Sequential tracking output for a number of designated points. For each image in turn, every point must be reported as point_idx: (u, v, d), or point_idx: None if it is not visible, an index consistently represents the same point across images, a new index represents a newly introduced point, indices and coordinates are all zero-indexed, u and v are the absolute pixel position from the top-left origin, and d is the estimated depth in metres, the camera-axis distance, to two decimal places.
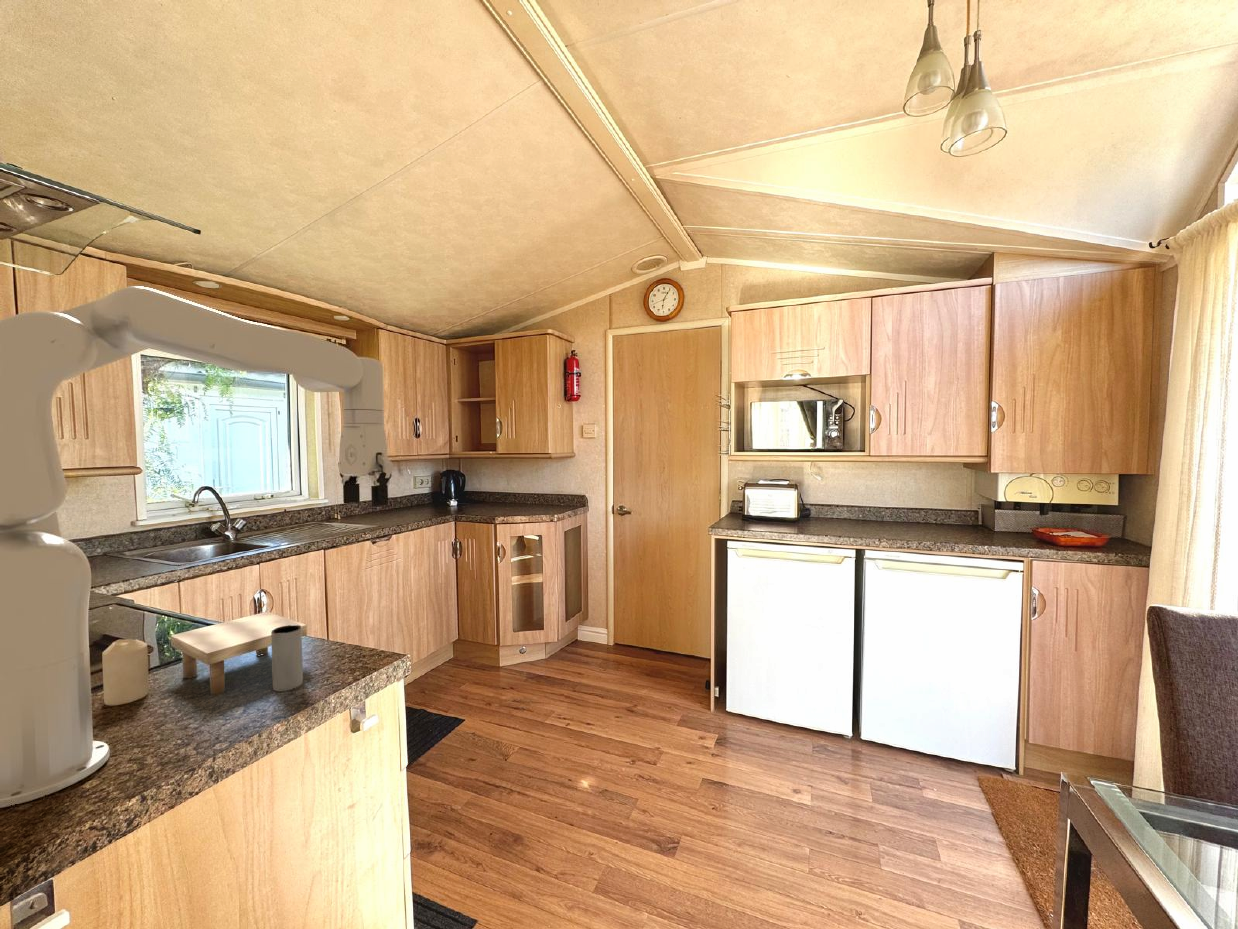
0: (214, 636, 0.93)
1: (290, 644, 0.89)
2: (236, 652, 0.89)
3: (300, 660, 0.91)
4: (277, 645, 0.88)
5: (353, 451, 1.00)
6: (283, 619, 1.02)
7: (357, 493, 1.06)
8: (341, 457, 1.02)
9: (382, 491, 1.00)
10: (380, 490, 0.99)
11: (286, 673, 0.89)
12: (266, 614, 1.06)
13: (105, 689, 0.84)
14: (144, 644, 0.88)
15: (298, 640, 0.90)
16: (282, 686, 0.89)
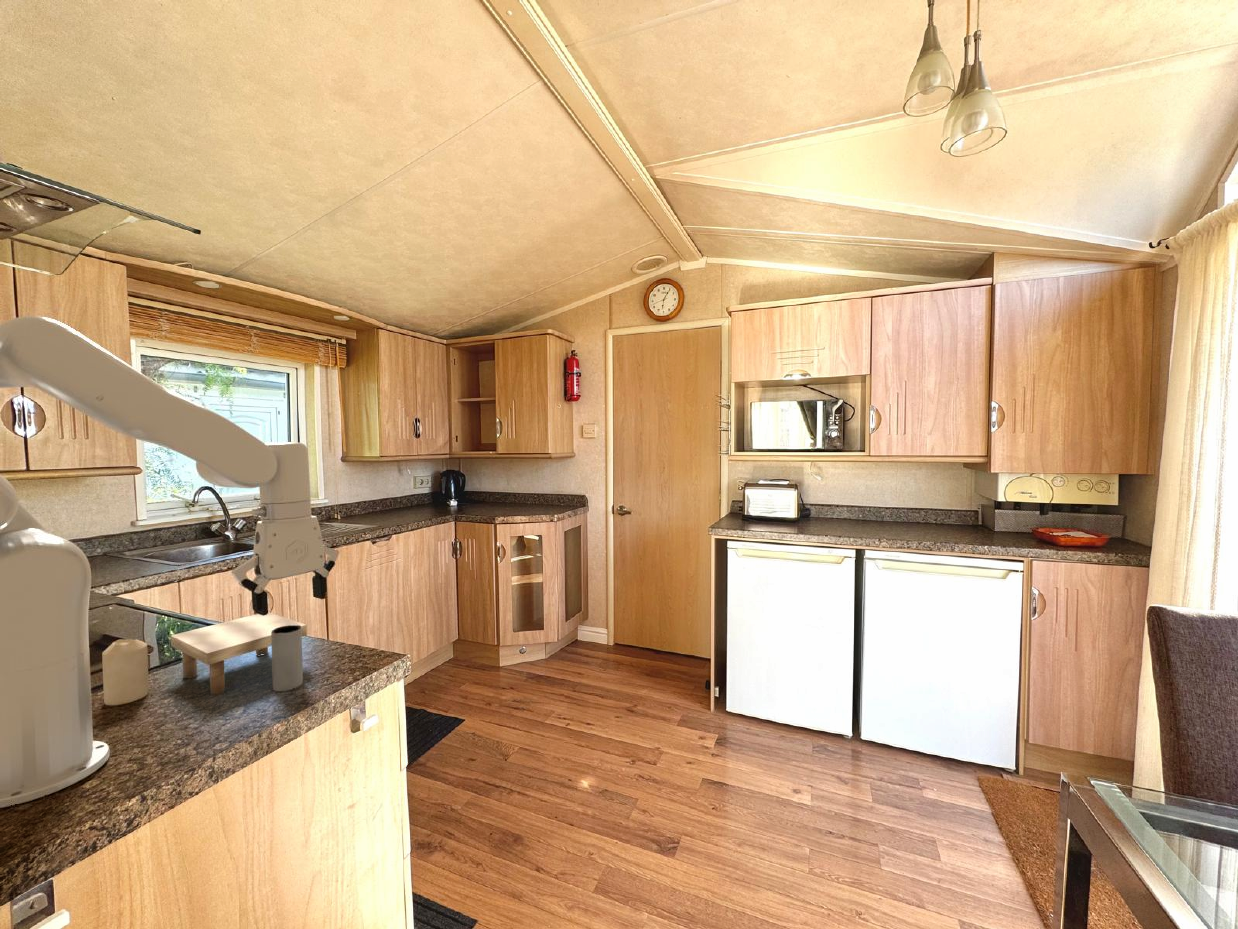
0: (214, 636, 0.93)
1: (290, 644, 0.89)
2: (236, 652, 0.89)
3: (300, 660, 0.91)
4: (277, 645, 0.88)
5: (301, 547, 0.90)
6: (283, 619, 1.02)
7: None
8: (273, 559, 0.86)
9: None
10: None
11: (286, 673, 0.89)
12: None
13: (105, 689, 0.84)
14: (144, 644, 0.88)
15: (298, 640, 0.90)
16: (282, 686, 0.89)
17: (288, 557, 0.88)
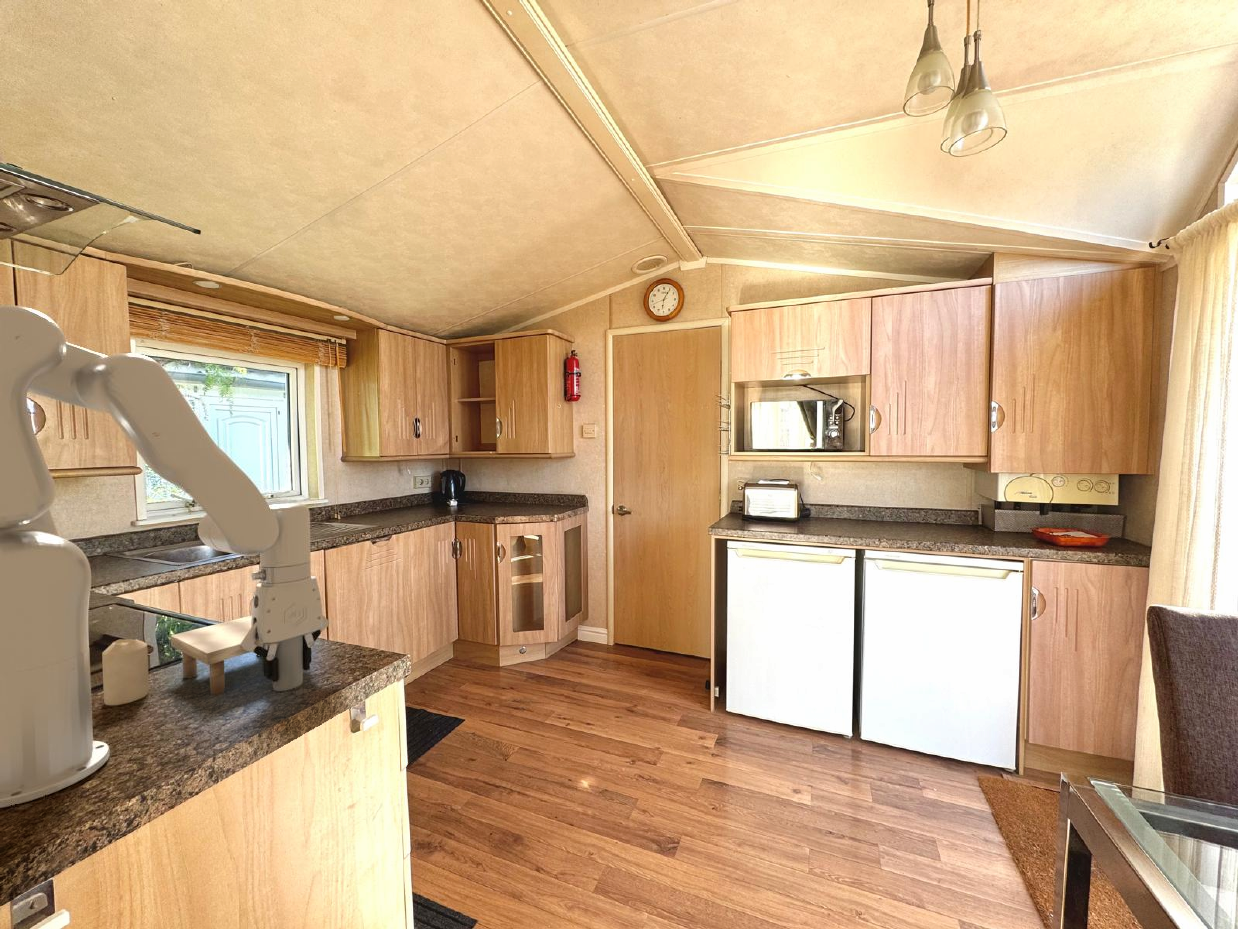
0: (214, 636, 0.93)
1: (291, 644, 0.89)
2: (236, 652, 0.89)
3: (300, 660, 0.91)
4: (278, 644, 0.89)
5: (299, 609, 0.90)
6: None
7: None
8: (271, 624, 0.86)
9: None
10: None
11: (286, 673, 0.89)
12: None
13: (105, 689, 0.84)
14: (144, 644, 0.88)
15: (299, 640, 0.91)
16: (282, 686, 0.89)
17: (286, 620, 0.88)
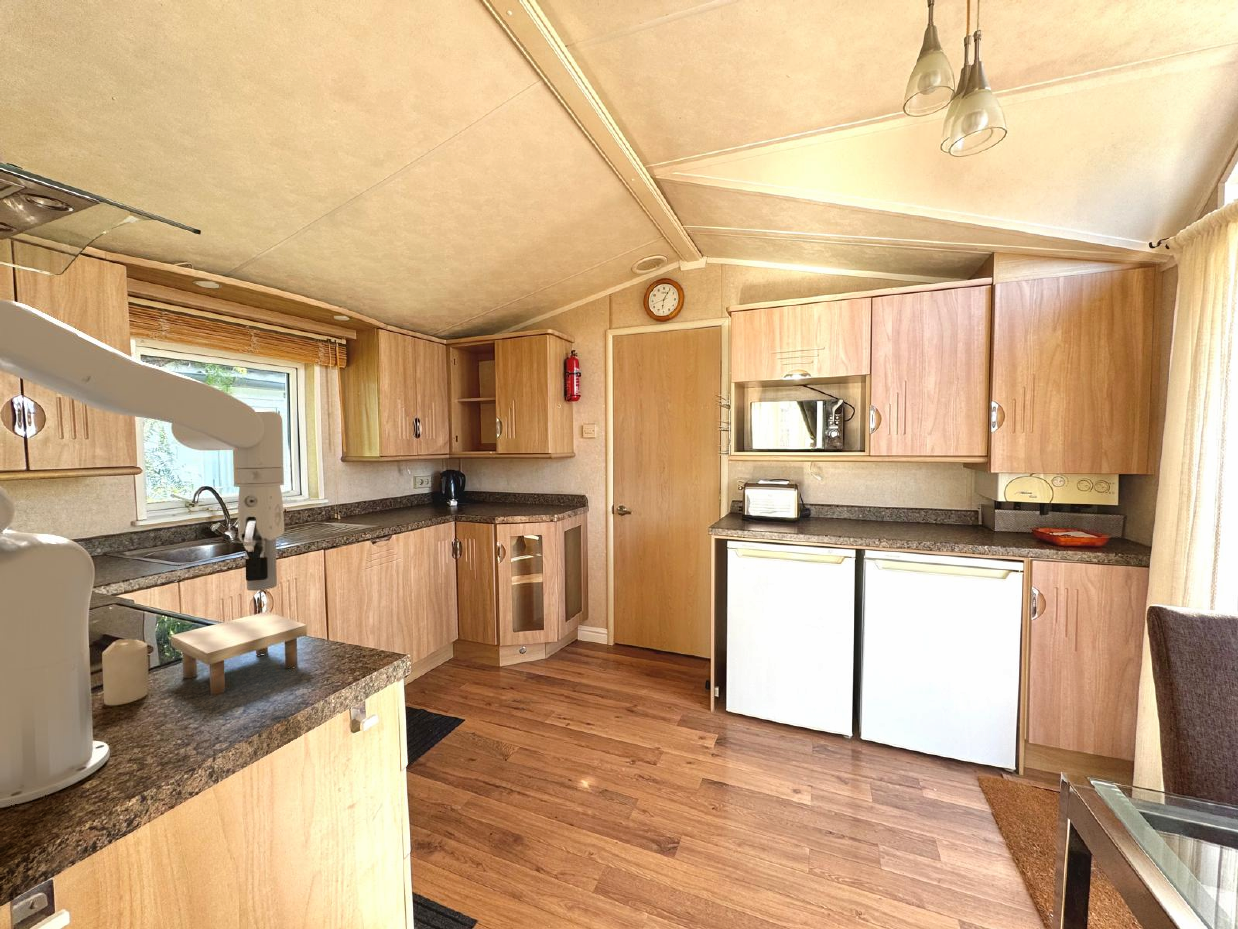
0: (214, 636, 0.93)
1: (274, 543, 0.94)
2: (236, 652, 0.89)
3: None
4: None
5: (278, 511, 0.95)
6: (283, 619, 1.02)
7: None
8: (271, 521, 0.91)
9: None
10: None
11: (272, 571, 0.93)
12: (266, 614, 1.06)
13: (105, 689, 0.84)
14: (144, 644, 0.88)
15: None
16: (269, 584, 0.92)
17: (275, 519, 0.93)
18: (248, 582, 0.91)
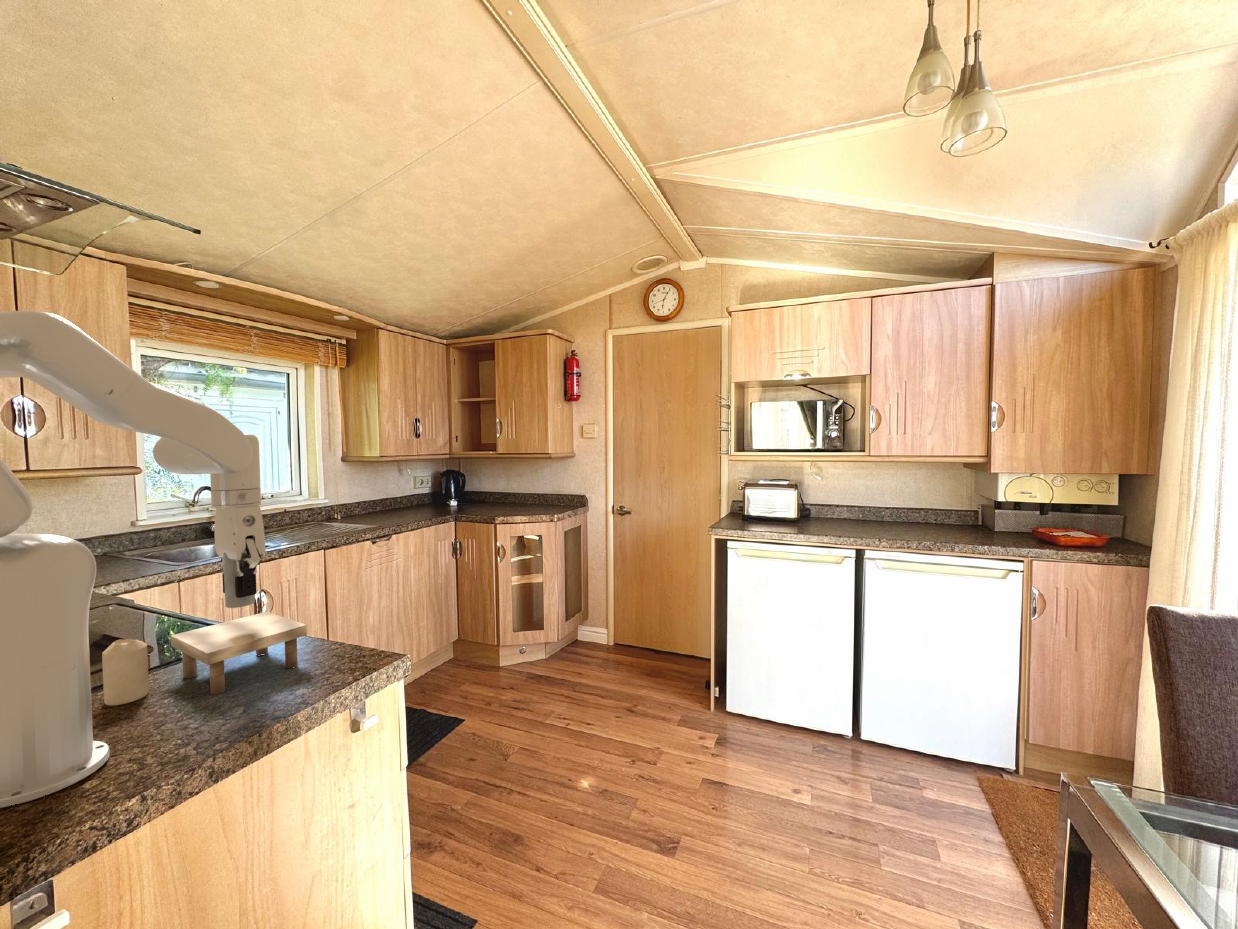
0: (214, 636, 0.93)
1: None
2: (236, 652, 0.89)
3: None
4: None
5: None
6: (283, 619, 1.02)
7: None
8: None
9: None
10: None
11: None
12: (266, 614, 1.06)
13: (105, 689, 0.84)
14: (144, 644, 0.88)
15: None
16: (253, 598, 0.97)
17: None
18: (233, 600, 0.94)
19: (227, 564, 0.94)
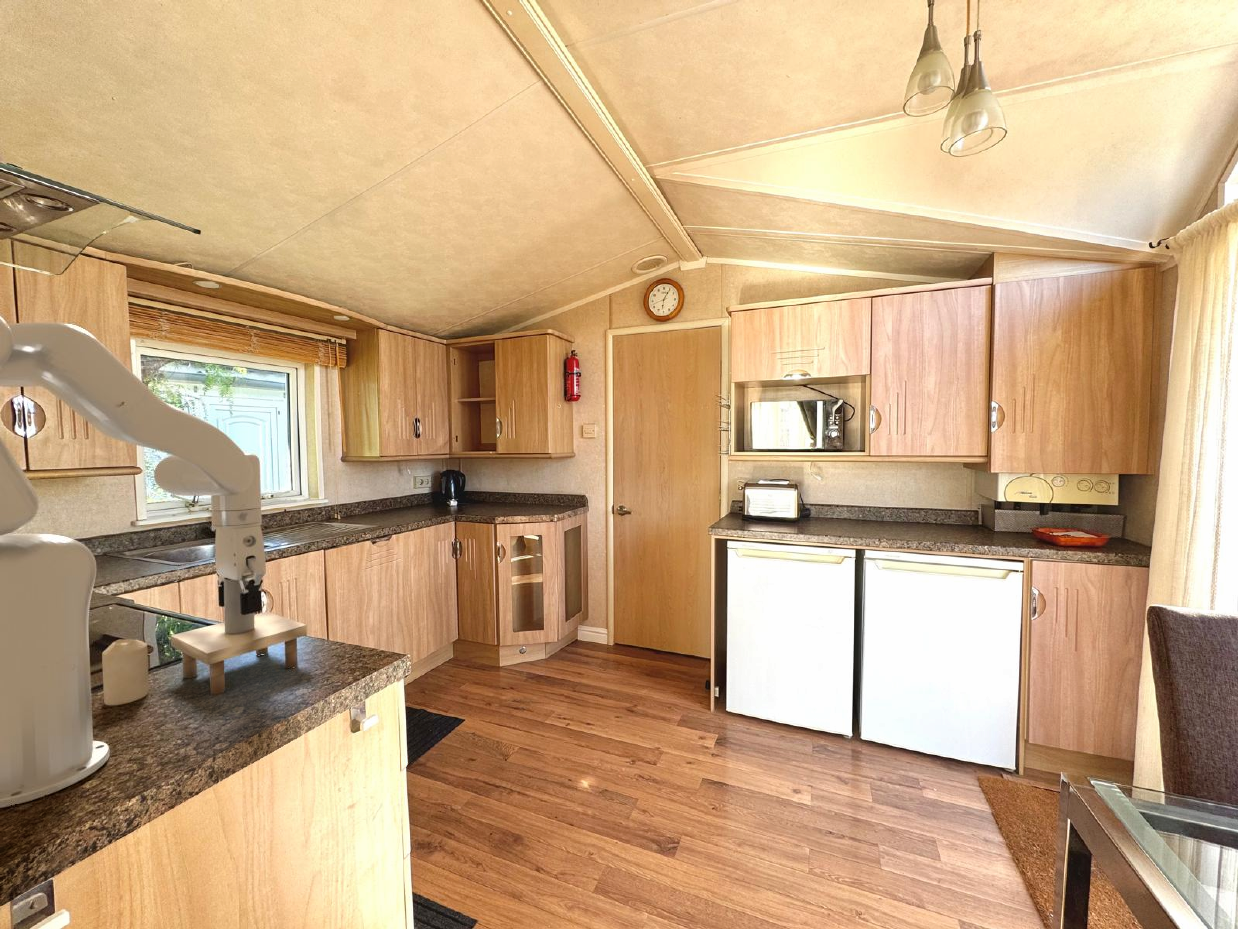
0: (214, 636, 0.93)
1: None
2: (236, 652, 0.89)
3: None
4: None
5: None
6: (283, 619, 1.02)
7: None
8: None
9: None
10: None
11: None
12: (266, 614, 1.06)
13: (105, 689, 0.84)
14: (144, 644, 0.88)
15: None
16: (253, 624, 0.97)
17: None
18: (233, 626, 0.94)
19: (228, 590, 0.94)
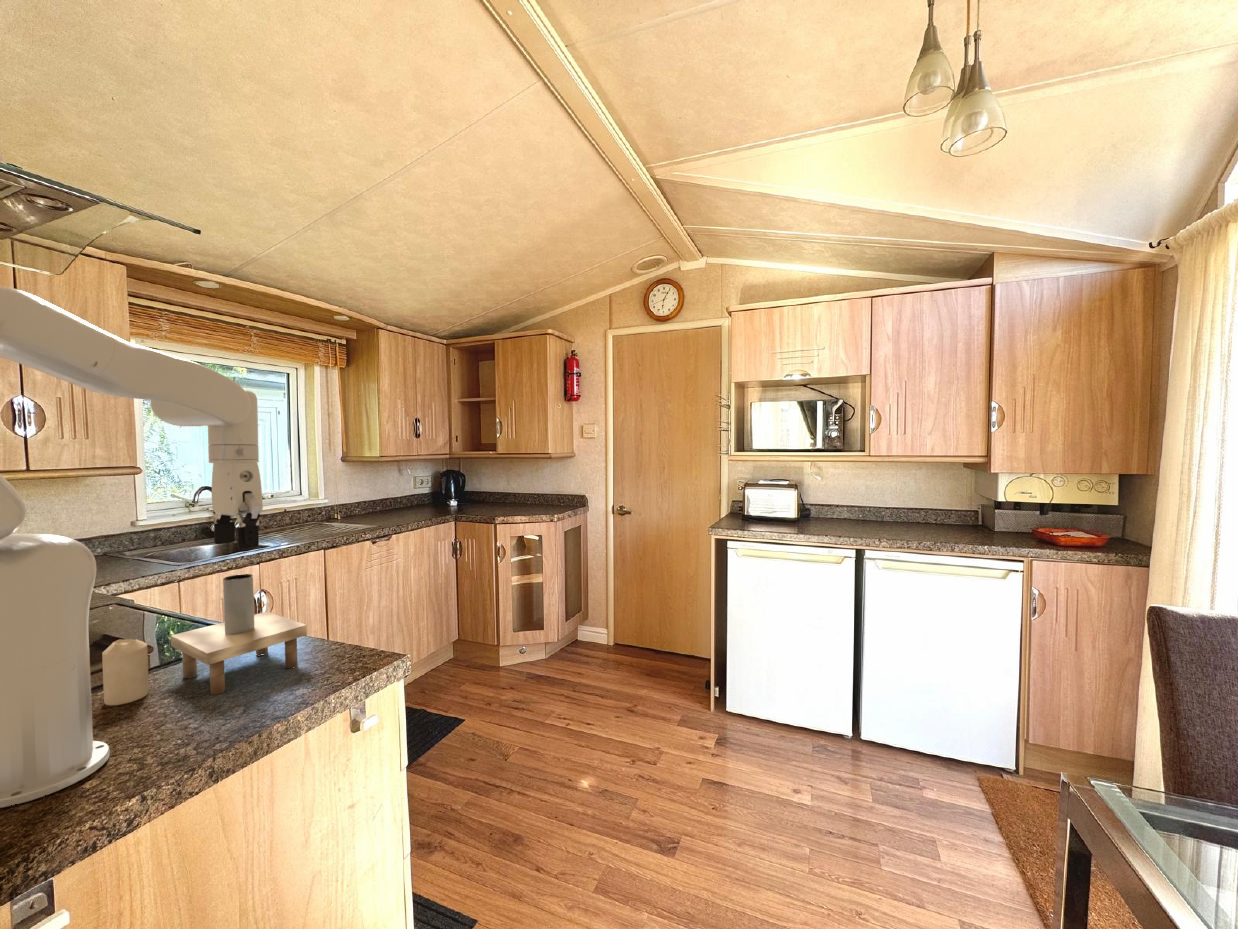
0: (214, 636, 0.93)
1: None
2: (236, 652, 0.89)
3: None
4: (249, 587, 0.96)
5: None
6: (283, 619, 1.02)
7: None
8: None
9: None
10: None
11: (253, 612, 0.97)
12: (266, 614, 1.06)
13: (105, 689, 0.84)
14: (144, 644, 0.88)
15: None
16: (253, 624, 0.97)
17: None
18: (233, 626, 0.94)
19: (227, 590, 0.94)
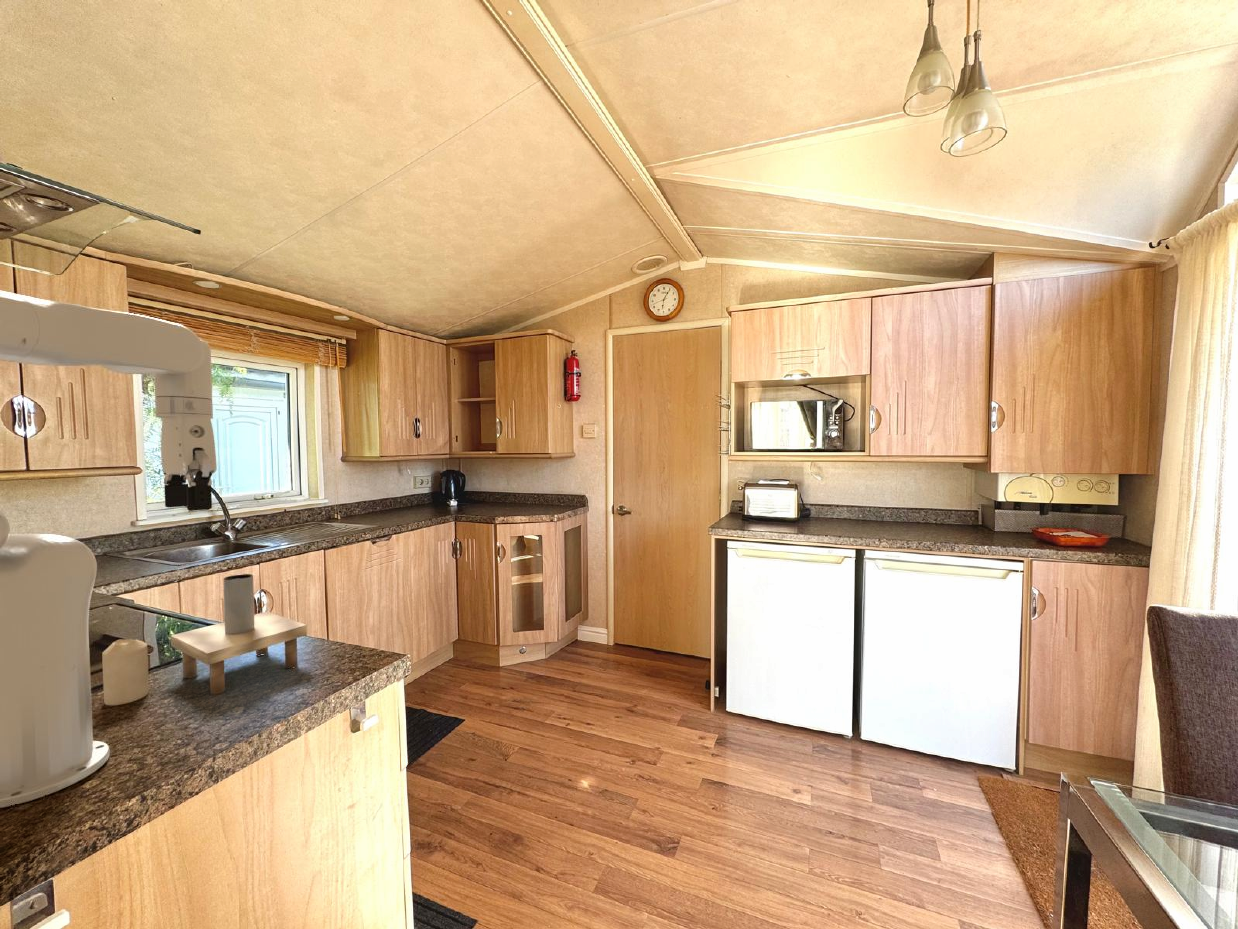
0: (214, 636, 0.93)
1: None
2: (236, 652, 0.89)
3: None
4: (249, 587, 0.96)
5: None
6: (283, 619, 1.02)
7: None
8: None
9: None
10: None
11: (253, 612, 0.97)
12: (266, 614, 1.06)
13: (105, 689, 0.84)
14: (144, 644, 0.88)
15: None
16: (253, 624, 0.97)
17: None
18: (233, 626, 0.94)
19: (227, 590, 0.94)
